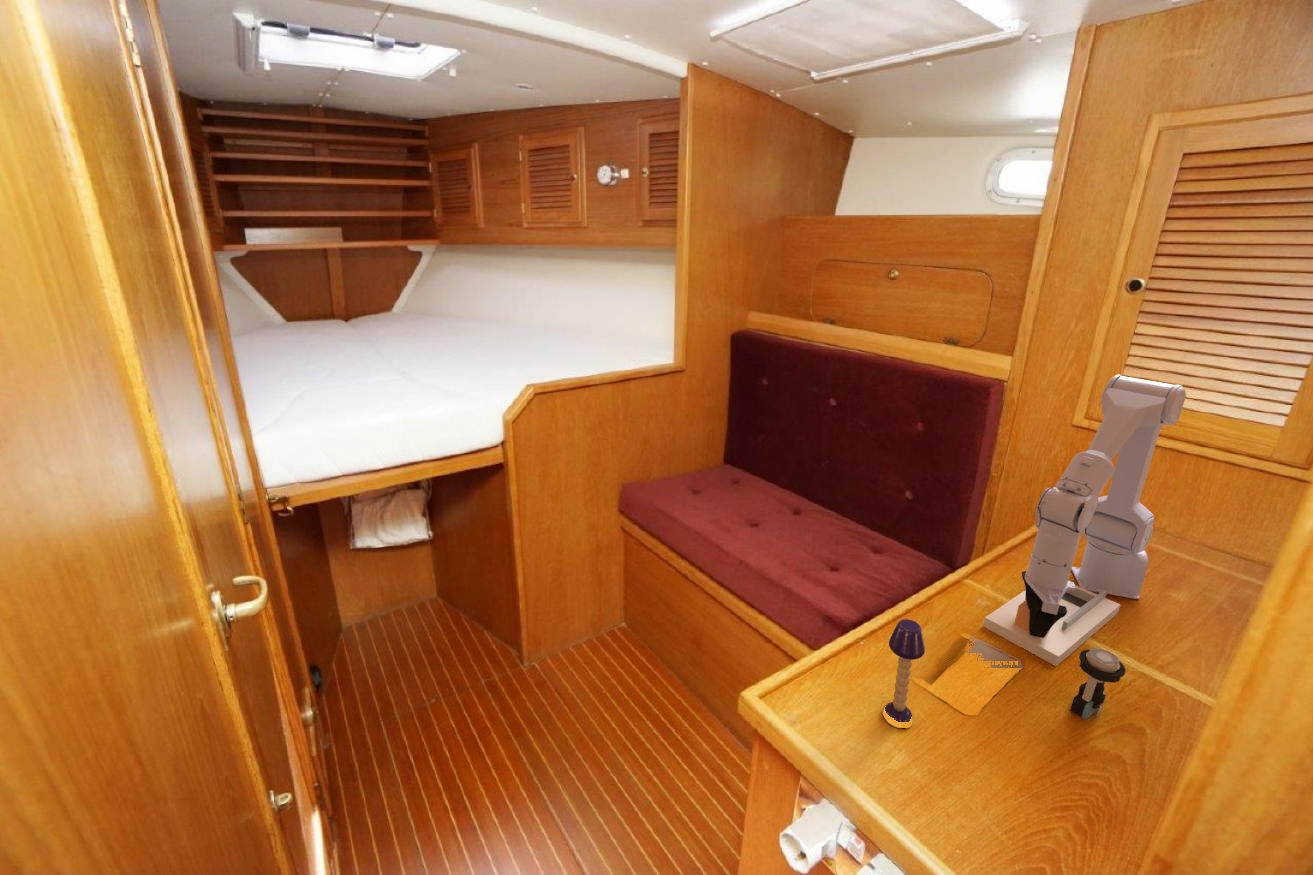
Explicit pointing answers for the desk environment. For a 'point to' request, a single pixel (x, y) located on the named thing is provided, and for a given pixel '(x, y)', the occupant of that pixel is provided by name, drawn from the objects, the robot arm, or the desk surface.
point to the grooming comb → (992, 654)
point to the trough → (1056, 624)
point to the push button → (1096, 680)
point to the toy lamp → (904, 665)
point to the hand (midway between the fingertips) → (1034, 623)
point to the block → (1023, 616)
